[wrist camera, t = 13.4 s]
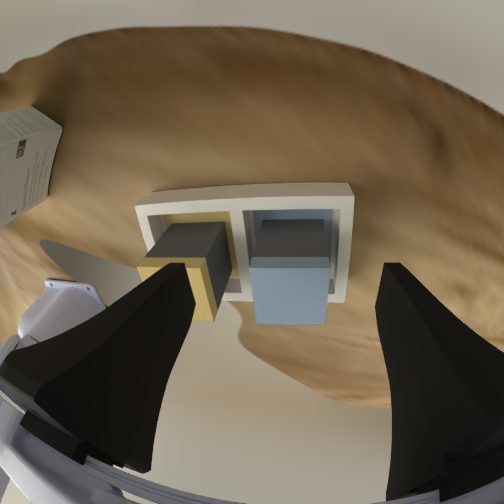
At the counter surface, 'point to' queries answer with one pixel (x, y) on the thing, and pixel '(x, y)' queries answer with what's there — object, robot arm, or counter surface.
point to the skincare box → (25, 160)
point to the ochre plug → (195, 262)
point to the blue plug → (290, 272)
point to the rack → (257, 222)
